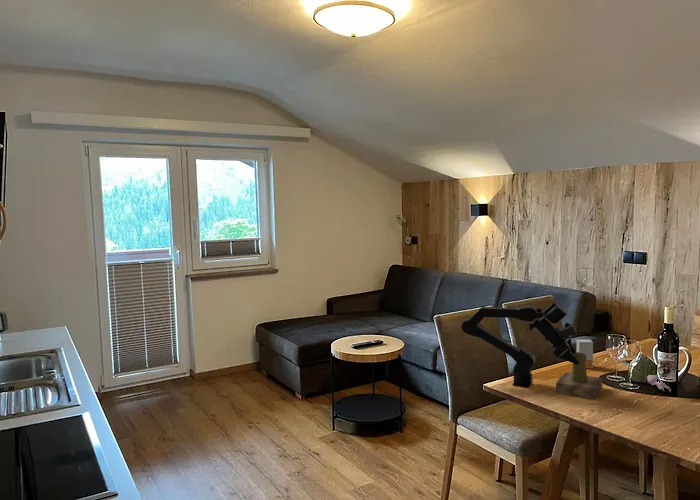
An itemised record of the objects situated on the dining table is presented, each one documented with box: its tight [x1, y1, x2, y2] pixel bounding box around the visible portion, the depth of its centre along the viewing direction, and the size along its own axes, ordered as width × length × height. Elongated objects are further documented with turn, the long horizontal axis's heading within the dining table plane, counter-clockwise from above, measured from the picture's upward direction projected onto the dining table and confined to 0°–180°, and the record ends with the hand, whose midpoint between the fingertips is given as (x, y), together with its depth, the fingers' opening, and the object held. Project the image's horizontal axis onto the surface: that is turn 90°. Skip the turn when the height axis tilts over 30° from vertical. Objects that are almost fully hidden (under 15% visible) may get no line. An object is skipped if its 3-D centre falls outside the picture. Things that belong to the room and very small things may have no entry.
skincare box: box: [576, 339, 594, 369], centre depth 230 cm, size 6×4×12 cm
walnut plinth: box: [555, 372, 603, 400], centre depth 203 cm, size 14×14×4 cm
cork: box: [571, 351, 588, 383], centre depth 202 cm, size 6×6×11 cm
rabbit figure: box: [646, 373, 672, 392], centre depth 204 cm, size 6×6×15 cm
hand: (578, 360), depth 202 cm, fingers open, 9 cm apart
